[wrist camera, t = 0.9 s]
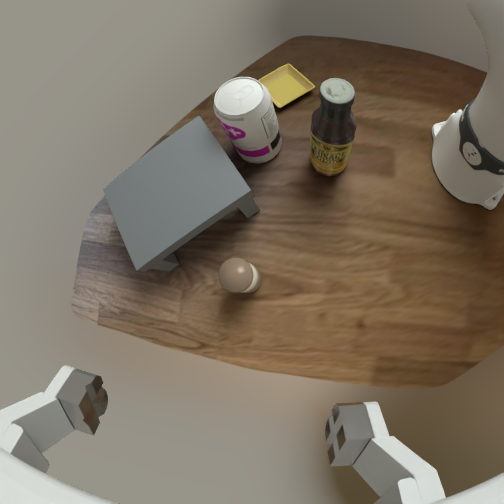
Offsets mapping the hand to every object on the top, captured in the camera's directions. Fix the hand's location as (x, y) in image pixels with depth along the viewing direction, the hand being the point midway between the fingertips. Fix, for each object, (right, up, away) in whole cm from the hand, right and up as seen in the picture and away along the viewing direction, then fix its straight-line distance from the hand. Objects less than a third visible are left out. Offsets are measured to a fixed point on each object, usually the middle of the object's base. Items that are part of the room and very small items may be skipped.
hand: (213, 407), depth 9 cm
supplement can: (+3, +24, +42) cm, 49 cm away
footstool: (-9, +13, +43) cm, 46 cm away
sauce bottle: (+14, +20, +39) cm, 46 cm away
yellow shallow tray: (+8, +37, +44) cm, 58 cm away
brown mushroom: (+1, +1, +39) cm, 39 cm away
